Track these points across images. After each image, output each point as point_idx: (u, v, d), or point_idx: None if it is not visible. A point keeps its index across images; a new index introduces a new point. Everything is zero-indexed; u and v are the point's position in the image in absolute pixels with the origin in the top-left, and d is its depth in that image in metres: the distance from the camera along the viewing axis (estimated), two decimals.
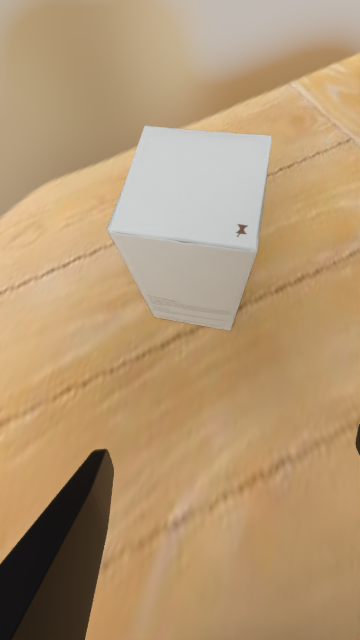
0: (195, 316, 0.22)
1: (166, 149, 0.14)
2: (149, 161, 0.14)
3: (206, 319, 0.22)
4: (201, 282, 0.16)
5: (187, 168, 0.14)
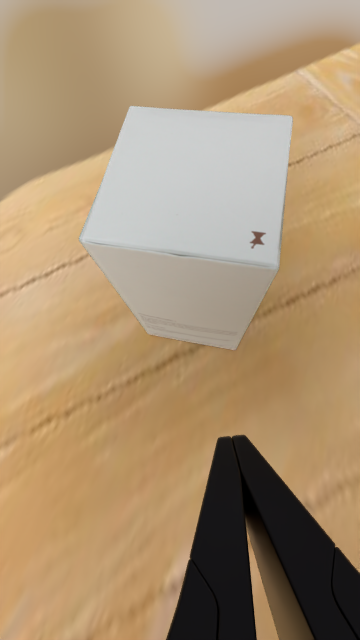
0: (195, 335, 0.19)
1: (156, 135, 0.11)
2: (135, 149, 0.11)
3: (208, 339, 0.19)
4: (202, 302, 0.13)
5: (184, 158, 0.11)
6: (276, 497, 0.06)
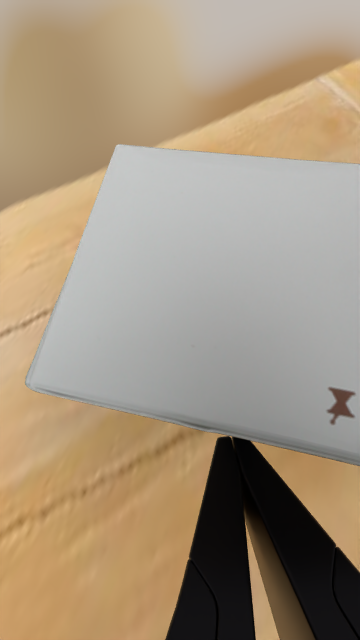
0: None
1: (157, 194, 0.07)
2: (123, 219, 0.07)
3: None
4: None
5: (203, 237, 0.06)
6: (277, 497, 0.06)
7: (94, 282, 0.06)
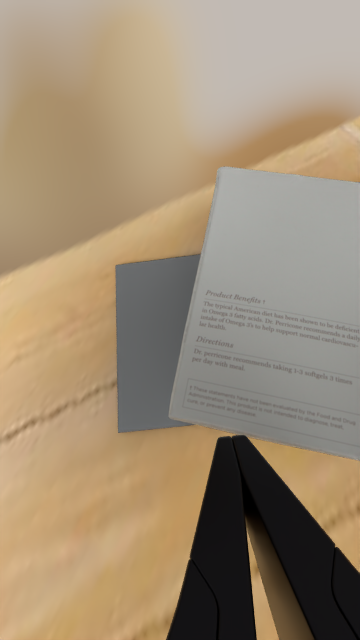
0: (287, 369, 0.10)
1: None
2: None
3: (312, 381, 0.10)
4: (310, 235, 0.12)
5: None
6: (276, 497, 0.06)
7: None
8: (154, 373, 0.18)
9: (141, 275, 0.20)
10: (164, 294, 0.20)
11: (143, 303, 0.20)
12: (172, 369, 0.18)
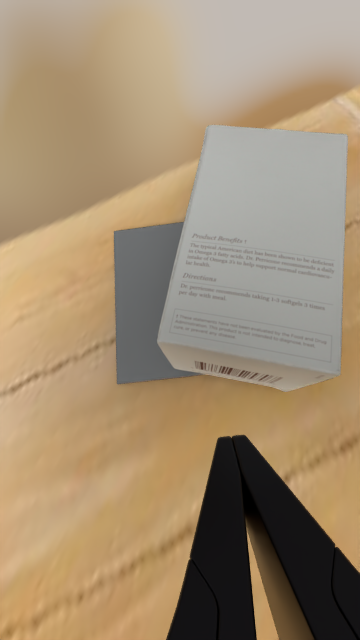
0: (265, 298, 0.11)
1: None
2: None
3: (287, 308, 0.11)
4: (290, 183, 0.13)
5: None
6: (276, 497, 0.06)
7: None
8: (151, 329, 0.19)
9: (138, 240, 0.21)
10: (161, 257, 0.21)
11: (140, 266, 0.20)
12: None
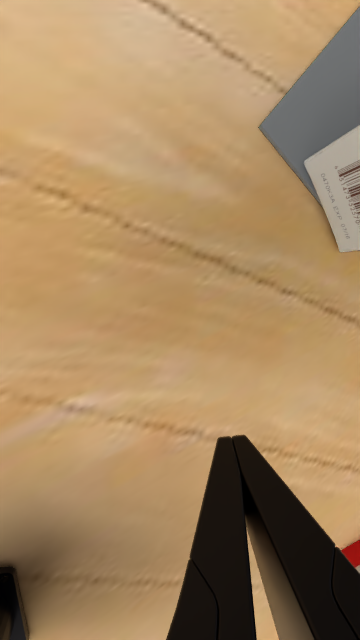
0: None
1: None
2: None
3: None
4: None
5: None
6: (276, 497, 0.06)
7: None
8: (314, 118, 0.19)
9: None
10: None
11: (354, 58, 0.19)
12: (325, 131, 0.19)
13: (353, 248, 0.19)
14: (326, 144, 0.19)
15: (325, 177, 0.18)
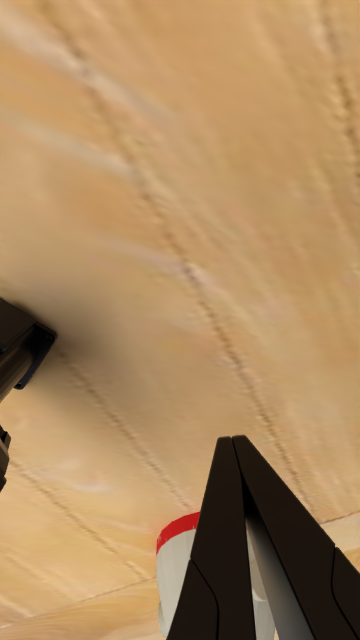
0: None
1: None
2: None
3: None
4: None
5: None
6: (276, 497, 0.06)
7: None
8: None
9: None
10: None
11: None
12: None
13: None
14: None
15: None
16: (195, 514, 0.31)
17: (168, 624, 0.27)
